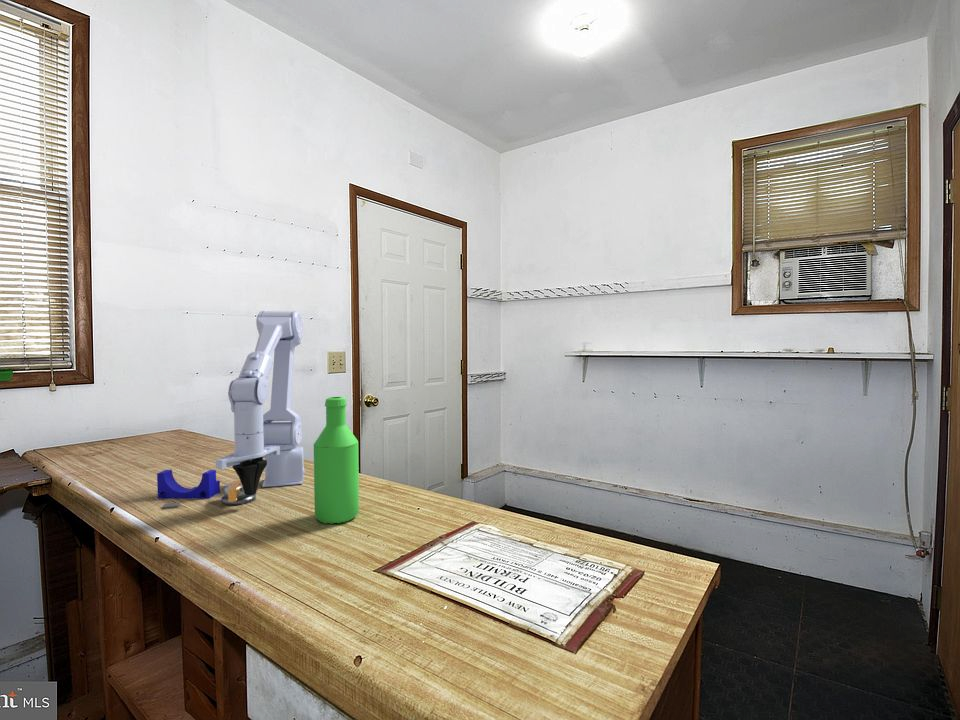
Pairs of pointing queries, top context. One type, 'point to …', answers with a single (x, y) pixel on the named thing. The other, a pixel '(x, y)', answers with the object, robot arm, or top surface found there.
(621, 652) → the top surface
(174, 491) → the cable clip
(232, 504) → the dial housing
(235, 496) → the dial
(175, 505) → the grey block
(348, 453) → the bottle
